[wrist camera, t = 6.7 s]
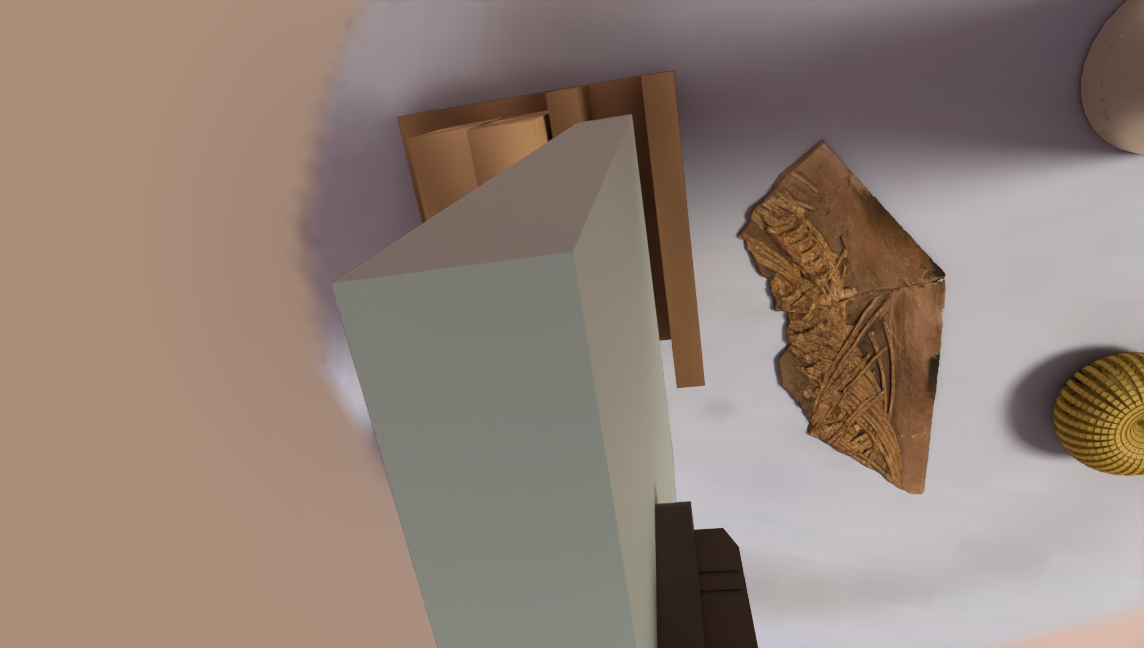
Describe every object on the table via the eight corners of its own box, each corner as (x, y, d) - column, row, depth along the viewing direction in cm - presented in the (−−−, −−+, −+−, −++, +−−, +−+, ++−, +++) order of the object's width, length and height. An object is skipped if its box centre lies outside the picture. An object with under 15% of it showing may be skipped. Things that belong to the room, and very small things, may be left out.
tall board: (631, 114, 24) (573, 251, 5) (672, 451, 28) (721, 1173, 10) (577, 123, 24) (331, 283, 5) (626, 455, 29) (587, 1161, 10)
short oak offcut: (501, 117, 38) (467, 129, 31) (543, 338, 43) (521, 394, 36) (452, 126, 39) (406, 139, 31) (498, 343, 44) (468, 399, 36)
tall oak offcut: (560, 108, 38) (532, 120, 28) (595, 332, 43) (582, 406, 33) (509, 116, 38) (466, 131, 29) (550, 337, 43) (524, 411, 34)
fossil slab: (721, 173, 40) (723, 176, 39) (909, 108, 38) (916, 109, 37) (819, 512, 48) (822, 521, 47) (979, 475, 46) (987, 484, 45)
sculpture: (1122, 511, 41) (1050, 425, 39) (1082, 474, 44) (1014, 394, 43) (1258, 437, 38) (1185, 342, 36) (1203, 404, 42) (1135, 316, 40)
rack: (667, 71, 38) (673, 71, 30) (694, 328, 43) (704, 385, 35) (405, 115, 40) (347, 126, 32) (461, 353, 46) (423, 412, 38)
